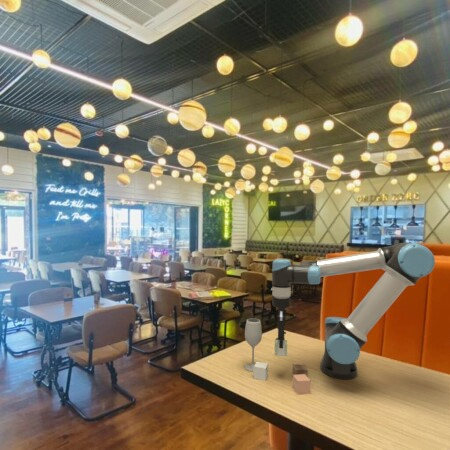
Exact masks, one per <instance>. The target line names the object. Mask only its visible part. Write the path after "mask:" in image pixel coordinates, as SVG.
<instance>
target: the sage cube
mask: <svg viewBox="0 0 450 450" xmlns="http://www.w3.org/2000/svg"><path fill="white" fill-rule="evenodd" d="M274 356H277V357H279V356H278V340H276V338H275V339H274ZM283 357H287V358H288V339H284V356H283Z"/></svg>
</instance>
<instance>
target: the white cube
mask: <svg viewBox="0 0 450 450" xmlns="http://www.w3.org/2000/svg"><path fill="white" fill-rule="evenodd" d="M254 364H255V365H254V372H253V380H254V379H255V380H260V381H266V380H267V378H268V376H269V363H267V362H261V361H256V362H254Z"/></svg>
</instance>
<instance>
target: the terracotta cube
mask: <svg viewBox="0 0 450 450" xmlns="http://www.w3.org/2000/svg"><path fill="white" fill-rule="evenodd" d="M292 389H293V390H294V392H295V394H297V395H308V394H311V379H310V378H309V376H308V377H307V376H306V375H305V374H299V375H293V374H292Z"/></svg>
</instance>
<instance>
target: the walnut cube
mask: <svg viewBox="0 0 450 450" xmlns="http://www.w3.org/2000/svg"><path fill="white" fill-rule="evenodd" d="M308 371H309V370H308V368H307V366H306V364H292V376H293V375H299V374H305V375H306V376H307V377H308V378H309V376H308V374H309V372H308Z"/></svg>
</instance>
